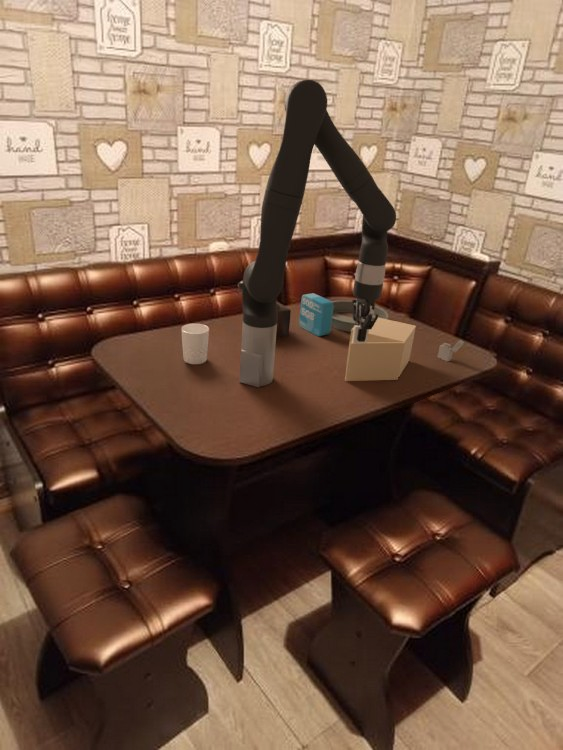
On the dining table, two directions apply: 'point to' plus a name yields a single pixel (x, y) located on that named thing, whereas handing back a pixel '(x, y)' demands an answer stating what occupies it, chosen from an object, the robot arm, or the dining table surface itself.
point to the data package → (316, 314)
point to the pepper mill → (283, 317)
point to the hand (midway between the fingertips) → (359, 339)
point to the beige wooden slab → (373, 359)
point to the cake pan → (348, 322)
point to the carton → (392, 336)
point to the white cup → (195, 343)
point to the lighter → (448, 350)
